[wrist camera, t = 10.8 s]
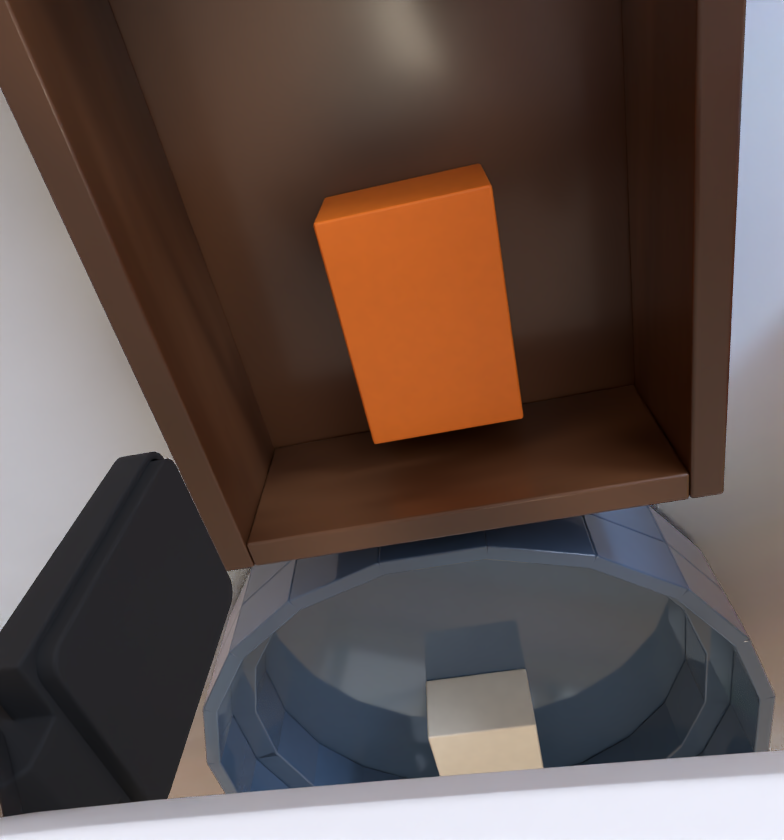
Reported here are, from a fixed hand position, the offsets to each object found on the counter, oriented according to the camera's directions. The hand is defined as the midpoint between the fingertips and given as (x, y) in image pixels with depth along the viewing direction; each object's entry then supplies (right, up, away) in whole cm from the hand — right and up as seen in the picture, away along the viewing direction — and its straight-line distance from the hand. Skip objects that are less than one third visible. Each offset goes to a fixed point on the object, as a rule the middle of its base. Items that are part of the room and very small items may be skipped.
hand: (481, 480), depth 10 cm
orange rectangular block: (0, +4, +8) cm, 9 cm away
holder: (-1, +8, +7) cm, 11 cm away
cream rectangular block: (+3, -12, +18) cm, 22 cm away
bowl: (+2, -8, +17) cm, 19 cm away
